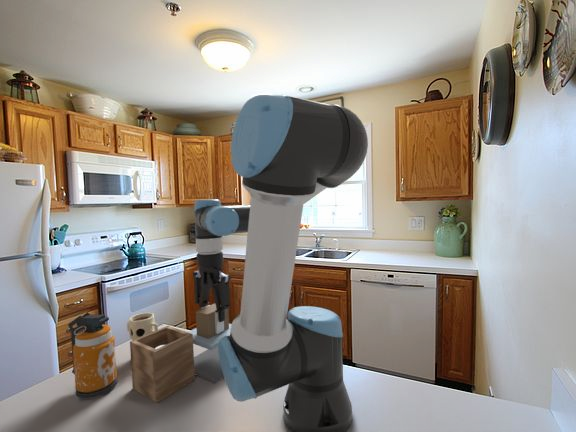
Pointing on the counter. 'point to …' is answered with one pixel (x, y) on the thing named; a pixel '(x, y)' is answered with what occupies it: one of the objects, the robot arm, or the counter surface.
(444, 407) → the counter surface
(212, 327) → the lid
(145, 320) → the character mug
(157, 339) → the box
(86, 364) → the canister
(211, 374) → the mat
